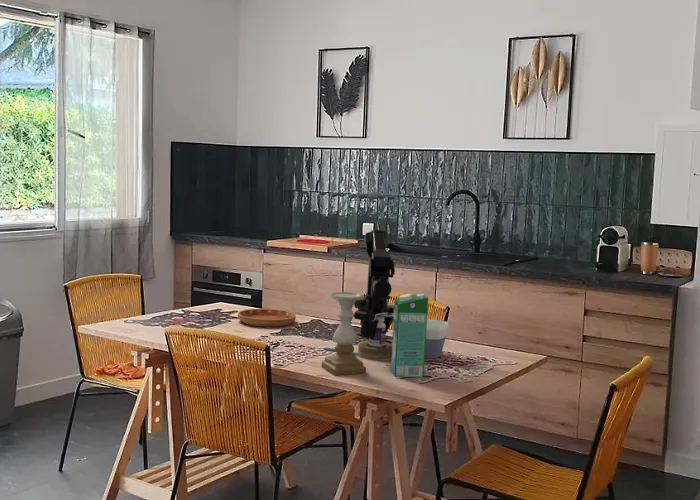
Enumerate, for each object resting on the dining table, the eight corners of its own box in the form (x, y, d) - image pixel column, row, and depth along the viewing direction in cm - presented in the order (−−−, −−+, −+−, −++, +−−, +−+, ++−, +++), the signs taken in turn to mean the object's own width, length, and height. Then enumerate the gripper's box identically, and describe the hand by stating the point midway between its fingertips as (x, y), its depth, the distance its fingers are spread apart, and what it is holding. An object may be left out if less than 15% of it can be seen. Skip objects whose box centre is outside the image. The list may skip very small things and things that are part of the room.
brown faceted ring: (374, 349, 283) (374, 339, 282) (401, 356, 275) (401, 346, 274) (351, 354, 274) (351, 344, 273) (378, 361, 266) (379, 351, 265)
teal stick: (361, 355, 274) (361, 353, 274) (360, 355, 273) (360, 353, 273) (325, 349, 280) (325, 347, 280) (324, 349, 279) (324, 347, 279)
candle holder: (333, 375, 246) (337, 298, 243) (320, 366, 256) (324, 292, 253) (366, 373, 250) (370, 297, 248) (352, 364, 260) (356, 291, 258)
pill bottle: (383, 347, 271) (384, 319, 270) (367, 346, 272) (369, 317, 271) (385, 344, 276) (387, 316, 275) (370, 342, 277) (371, 314, 276)
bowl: (450, 352, 284) (452, 321, 283) (441, 362, 270) (443, 329, 268) (408, 347, 289) (410, 316, 288) (396, 356, 275) (398, 324, 273)
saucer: (264, 314, 337) (264, 306, 337) (307, 323, 324) (307, 314, 323) (225, 322, 319) (225, 312, 318) (269, 331, 305) (269, 321, 305)
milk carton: (390, 369, 257) (394, 291, 254) (418, 369, 258) (423, 292, 255) (394, 376, 248) (399, 296, 245) (423, 377, 249) (428, 297, 246)
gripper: (379, 286, 284) (376, 330, 286) (343, 291, 270) (340, 337, 272) (404, 291, 277) (401, 336, 279) (368, 296, 263) (365, 343, 265)
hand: (377, 338), depth 274 cm, fingers closed on pill bottle, 5 cm apart
